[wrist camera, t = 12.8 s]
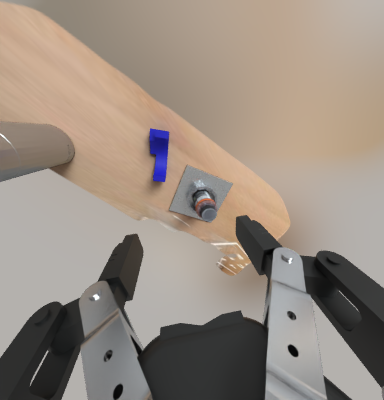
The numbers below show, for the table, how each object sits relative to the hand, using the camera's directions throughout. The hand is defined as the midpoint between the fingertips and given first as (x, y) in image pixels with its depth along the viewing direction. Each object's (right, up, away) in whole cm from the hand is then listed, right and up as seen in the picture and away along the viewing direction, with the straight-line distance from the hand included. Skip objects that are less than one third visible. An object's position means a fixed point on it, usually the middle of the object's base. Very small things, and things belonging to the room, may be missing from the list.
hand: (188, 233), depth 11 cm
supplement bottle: (+3, +4, +34) cm, 34 cm away
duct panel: (+3, +4, +35) cm, 35 cm away
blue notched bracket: (-9, +16, +28) cm, 33 cm away
